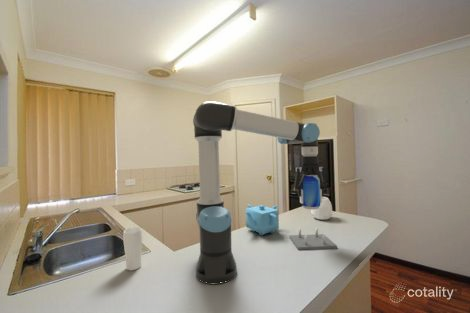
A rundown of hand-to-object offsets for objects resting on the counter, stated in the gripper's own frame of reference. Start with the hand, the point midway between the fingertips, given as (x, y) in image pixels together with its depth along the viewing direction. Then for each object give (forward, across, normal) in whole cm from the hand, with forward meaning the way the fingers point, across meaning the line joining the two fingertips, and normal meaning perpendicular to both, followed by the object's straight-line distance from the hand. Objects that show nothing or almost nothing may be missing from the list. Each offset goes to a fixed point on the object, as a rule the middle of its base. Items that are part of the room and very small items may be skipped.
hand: (310, 202), depth 105 cm
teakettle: (+20, -22, +18) cm, 35 cm away
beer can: (+3, 0, 0) cm, 3 cm away
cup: (+20, +21, +37) cm, 47 cm away
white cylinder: (+19, -78, -17) cm, 82 cm away
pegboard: (+20, 0, 0) cm, 20 cm away
